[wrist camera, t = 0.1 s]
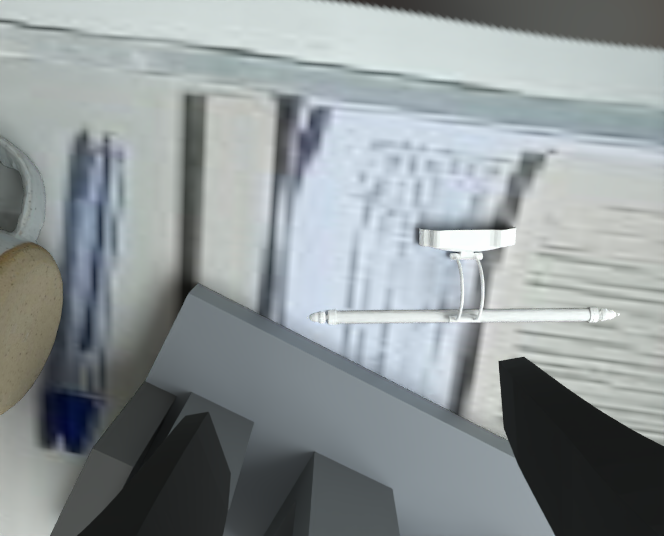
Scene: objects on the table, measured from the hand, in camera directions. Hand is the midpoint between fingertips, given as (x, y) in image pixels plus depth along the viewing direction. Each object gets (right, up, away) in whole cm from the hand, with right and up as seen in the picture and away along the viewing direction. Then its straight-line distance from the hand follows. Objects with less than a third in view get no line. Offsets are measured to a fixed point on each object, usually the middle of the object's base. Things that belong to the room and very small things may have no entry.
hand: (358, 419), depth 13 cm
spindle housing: (+1, -8, +13) cm, 16 cm away
